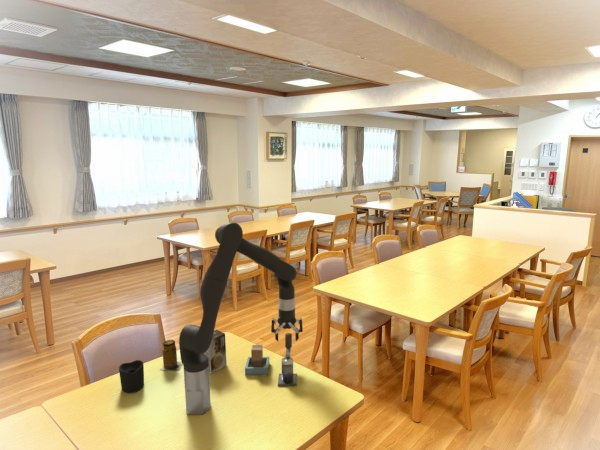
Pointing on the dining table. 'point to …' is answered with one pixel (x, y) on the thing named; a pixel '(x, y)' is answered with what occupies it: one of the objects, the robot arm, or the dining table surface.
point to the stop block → (257, 355)
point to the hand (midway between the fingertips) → (287, 340)
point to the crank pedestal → (287, 377)
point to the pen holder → (132, 376)
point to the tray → (257, 368)
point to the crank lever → (288, 350)
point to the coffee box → (217, 352)
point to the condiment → (170, 356)
